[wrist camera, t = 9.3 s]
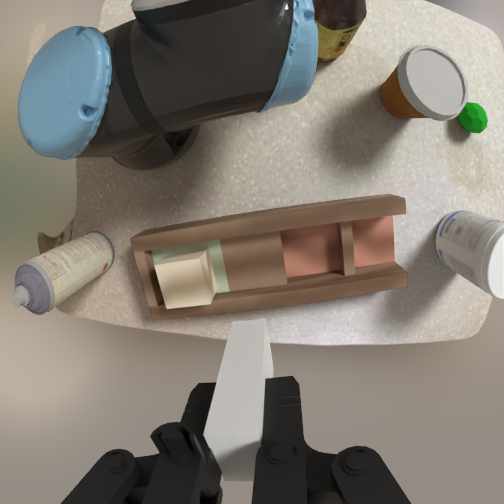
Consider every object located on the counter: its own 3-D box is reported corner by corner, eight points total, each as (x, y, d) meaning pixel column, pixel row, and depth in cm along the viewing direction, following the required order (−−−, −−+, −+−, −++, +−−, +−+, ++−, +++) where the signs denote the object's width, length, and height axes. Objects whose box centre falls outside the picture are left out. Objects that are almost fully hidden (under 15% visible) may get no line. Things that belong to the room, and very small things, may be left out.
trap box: (145, 229, 43) (130, 238, 38) (389, 194, 39) (405, 198, 34) (164, 303, 46) (152, 319, 41) (393, 272, 43) (407, 286, 37)
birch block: (167, 254, 41) (154, 265, 36) (208, 247, 40) (199, 258, 36) (177, 293, 43) (166, 309, 38) (217, 288, 42) (210, 304, 37)
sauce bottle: (335, 70, 35) (379, 5, 16) (294, 52, 35) (307, -25, 16) (350, 36, 33) (395, -35, 14) (310, 20, 33) (330, -62, 14)
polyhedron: (455, 133, 36) (472, 131, 31) (451, 103, 35) (467, 98, 30) (477, 134, 35) (494, 133, 31) (473, 105, 34) (489, 102, 29)
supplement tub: (476, 260, 41) (529, 292, 27) (433, 271, 42) (483, 310, 28) (476, 204, 38) (535, 222, 24) (431, 211, 40) (488, 233, 25)
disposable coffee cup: (374, 128, 37) (409, 115, 26) (365, 66, 35) (395, 35, 23) (430, 131, 36) (476, 123, 25) (421, 72, 34) (462, 49, 22)
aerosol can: (76, 257, 46) (-3, 304, 26) (88, 223, 44) (0, 260, 25) (106, 279, 46) (32, 337, 27) (120, 245, 44) (38, 294, 25)
